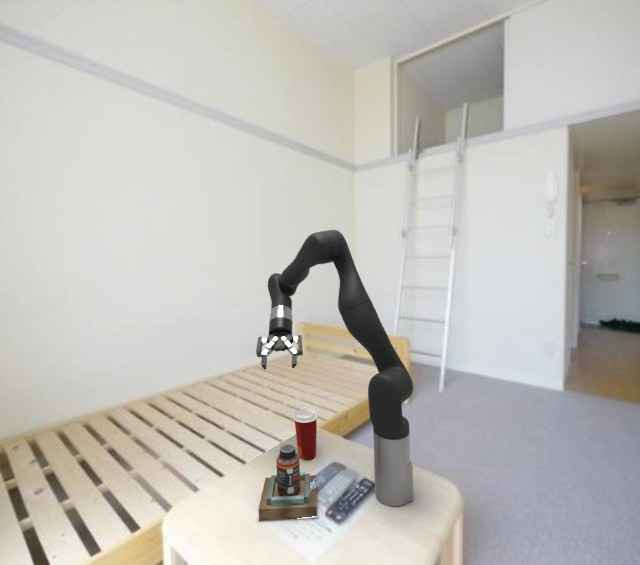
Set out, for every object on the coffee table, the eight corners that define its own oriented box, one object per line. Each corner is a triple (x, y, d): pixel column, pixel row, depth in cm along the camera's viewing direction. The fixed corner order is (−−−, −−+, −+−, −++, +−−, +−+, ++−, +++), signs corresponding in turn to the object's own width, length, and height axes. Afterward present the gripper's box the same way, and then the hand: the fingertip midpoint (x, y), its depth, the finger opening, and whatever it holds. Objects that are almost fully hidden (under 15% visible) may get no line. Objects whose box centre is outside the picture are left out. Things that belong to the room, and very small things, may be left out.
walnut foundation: (316, 485, 95) (316, 470, 95) (317, 518, 83) (316, 500, 83) (266, 488, 95) (265, 472, 94) (259, 521, 83) (258, 503, 82)
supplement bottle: (297, 499, 85) (295, 455, 85) (274, 497, 86) (272, 453, 86) (303, 483, 91) (301, 442, 90) (281, 482, 92) (279, 441, 92)
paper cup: (323, 452, 111) (322, 410, 110) (310, 465, 104) (308, 420, 103) (303, 446, 115) (302, 405, 114) (290, 458, 109) (288, 415, 108)
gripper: (257, 316, 110) (253, 362, 99) (301, 315, 110) (302, 360, 100) (260, 329, 116) (257, 374, 105) (303, 328, 116) (303, 372, 105)
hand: (279, 367), depth 102 cm, fingers open, 8 cm apart
